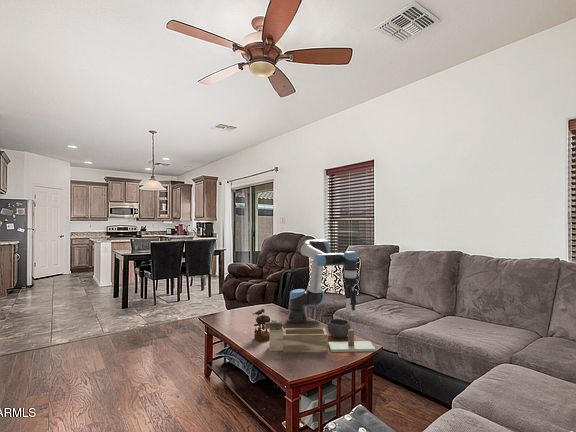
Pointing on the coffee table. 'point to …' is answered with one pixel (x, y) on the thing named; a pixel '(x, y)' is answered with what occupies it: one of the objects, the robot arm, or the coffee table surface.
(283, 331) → the toolbox
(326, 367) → the coffee table surface
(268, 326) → the tan wooden beam
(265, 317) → the music box
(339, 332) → the bowl
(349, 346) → the lid
